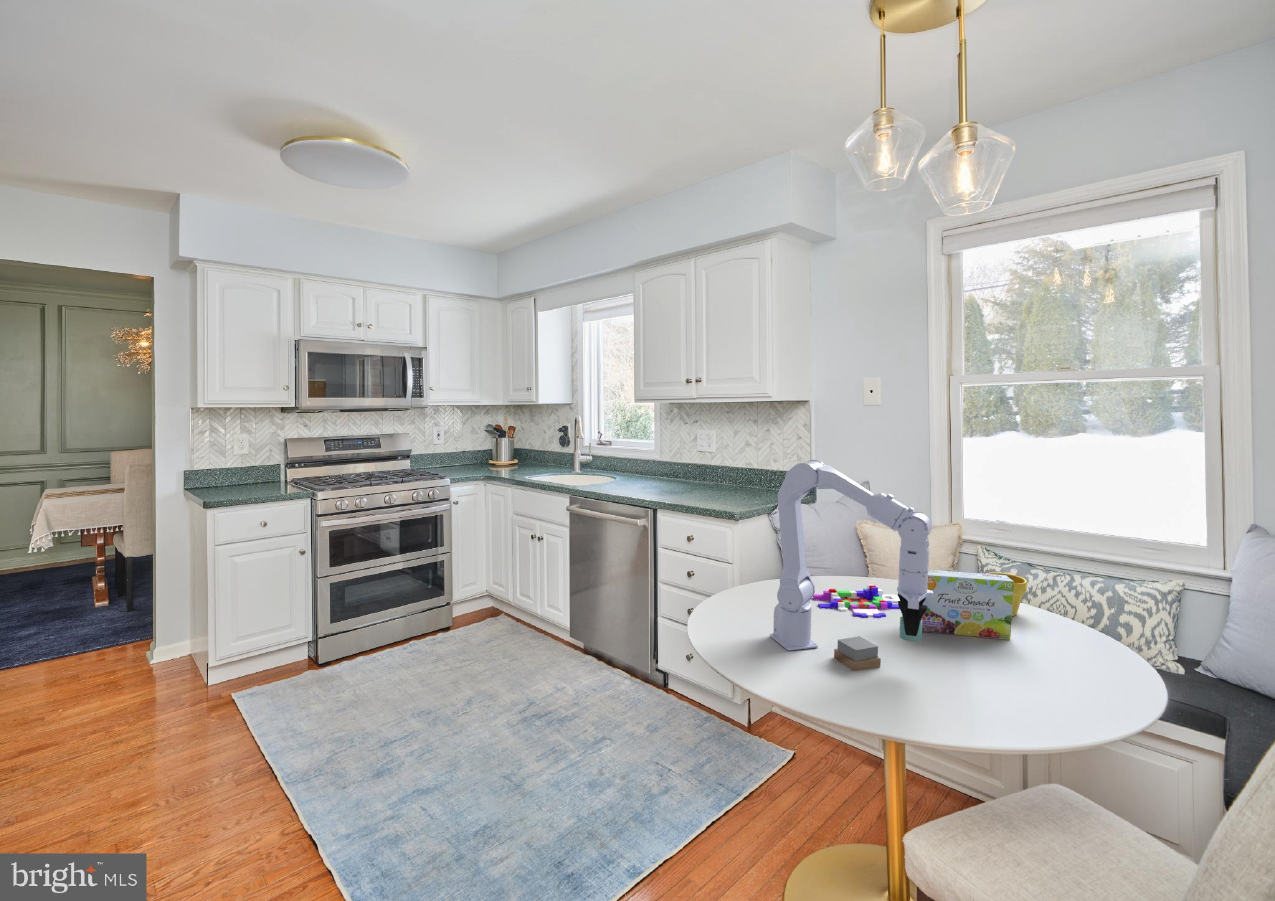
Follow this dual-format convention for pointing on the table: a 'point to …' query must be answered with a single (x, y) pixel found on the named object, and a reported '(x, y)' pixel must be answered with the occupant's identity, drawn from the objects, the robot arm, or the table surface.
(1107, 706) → the table surface
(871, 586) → the building block set
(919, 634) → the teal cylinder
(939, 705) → the table surface
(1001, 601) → the snack box
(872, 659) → the walnut base block
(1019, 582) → the plant pot
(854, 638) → the grey top block
